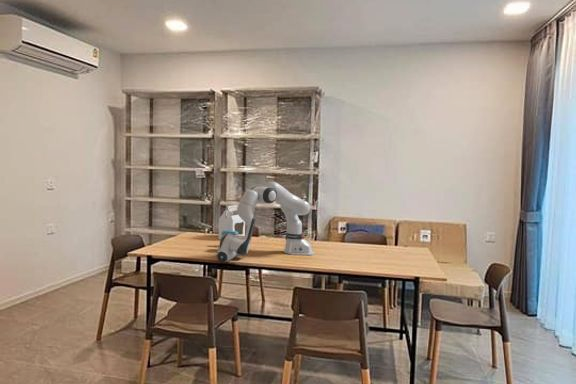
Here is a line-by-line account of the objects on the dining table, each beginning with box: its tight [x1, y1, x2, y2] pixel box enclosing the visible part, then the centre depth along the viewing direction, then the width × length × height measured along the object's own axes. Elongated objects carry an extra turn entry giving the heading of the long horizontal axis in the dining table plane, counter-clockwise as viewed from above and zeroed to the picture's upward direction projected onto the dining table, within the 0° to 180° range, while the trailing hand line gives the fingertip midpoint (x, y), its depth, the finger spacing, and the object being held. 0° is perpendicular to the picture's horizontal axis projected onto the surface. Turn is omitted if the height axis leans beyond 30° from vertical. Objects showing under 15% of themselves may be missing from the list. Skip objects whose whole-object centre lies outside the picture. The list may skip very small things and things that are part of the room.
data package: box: [222, 230, 238, 236], centre depth 329 cm, size 12×4×12 cm, turn 74°
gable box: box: [218, 204, 246, 241], centre depth 365 cm, size 22×13×28 cm, turn 158°
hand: (236, 248), depth 299 cm, fingers open, 8 cm apart
